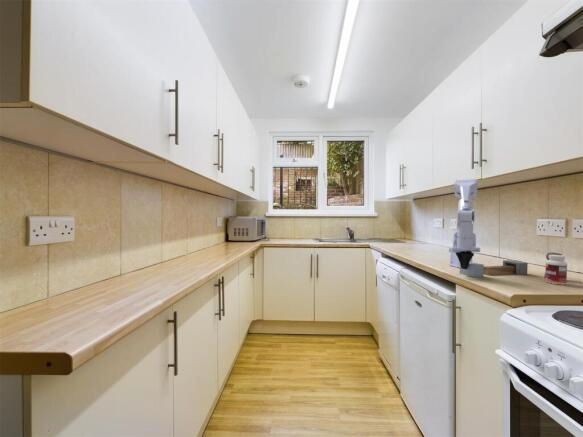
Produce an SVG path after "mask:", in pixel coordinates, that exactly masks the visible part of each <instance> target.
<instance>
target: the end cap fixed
mask: <svg viewBox="0 0 583 437" xmlns="http://www.w3.org/2000/svg"><path fill="white" fill-rule="evenodd" d="M528 264H529V263H528V262H525V261H518V260H512V259H509V260H508V259H506V260H502V266H514V267H516V274H515V275H517V276H523V275H524V276H525V275H528V268H529V267H528Z"/></svg>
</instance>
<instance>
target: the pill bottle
mask: <svg viewBox="0 0 583 437" xmlns="http://www.w3.org/2000/svg"><path fill="white" fill-rule="evenodd" d="M548 258H549V260H547V259H546V261H545V271H544V276H545V278H544V282H545V283H547V282H548V284H551V283H552V285H557V284H561V285H560V286H564V285H567V278H568V276H567V275H568V262H566V261H565V259H566V256H565V255H563V254H562V255H549V257H548Z"/></svg>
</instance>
